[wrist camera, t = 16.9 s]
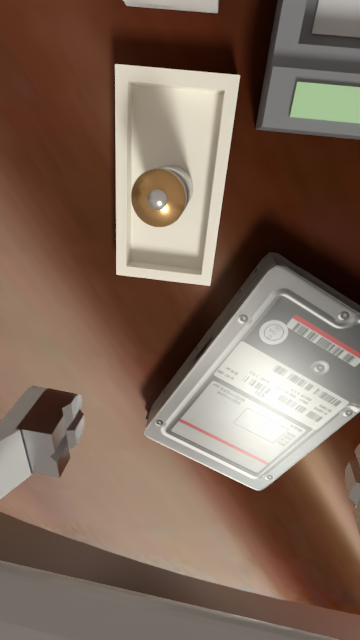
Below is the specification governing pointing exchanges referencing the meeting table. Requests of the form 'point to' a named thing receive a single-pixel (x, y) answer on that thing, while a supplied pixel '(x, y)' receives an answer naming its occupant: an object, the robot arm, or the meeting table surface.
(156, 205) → the cell
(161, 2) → the small white open box
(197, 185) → the trough
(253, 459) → the hard drive
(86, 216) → the meeting table surface
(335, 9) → the checker cradle
